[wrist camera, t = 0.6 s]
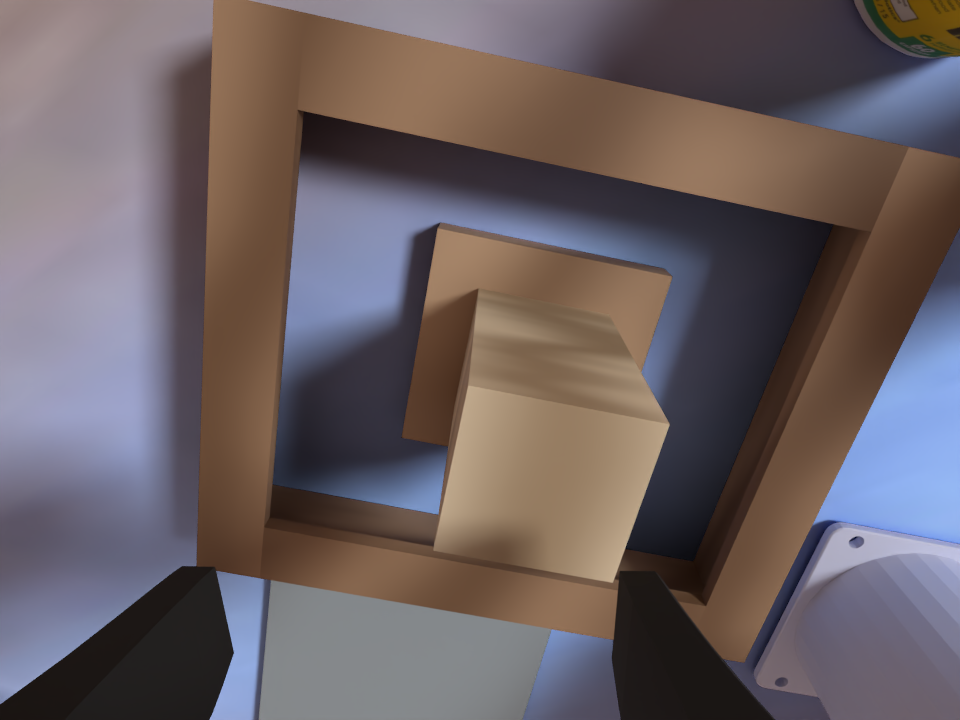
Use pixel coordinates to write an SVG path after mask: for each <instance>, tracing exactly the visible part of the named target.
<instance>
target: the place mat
mask: <svg viewBox="0 0 960 720" xmlns="http://www.w3.org/2000/svg"><path fill="white" fill-rule="evenodd" d="M551 630H552V629H548V628H542V627H536V626H531V625H525V624H519V623H514V622H508V621H502V620H496V619H491V618H485V617H479V616H473V615H468V614H462V613H456V612H450V611H445V610H439V609H433V608H428V607H422V606H416V605H410V604H405V603H399V602H393V601H387V600H382V599H376V598H370V597H364V596H359V595H353V594H347V593H342V592H336V591H330V590H324V589H319V588H313V587H307V586H301V585H296V584H290V583H284V582H278V581H273V580H271V587H270V598H269V609H268V620H267V631H266V643H265V654H264V665H263V676H262V687H261V699H260V710H259V720H522V719H523V716H524V713H525V710H526V707H527V704H528V701H529V698H530V695H531V692H532V688H533V685H534V682H535V679H536V676H537V673H538V670H539V667H540V664H541V661H542V658H543V654H544V651H545V648H546V645H547V642H548V639H549V636H550V633H551Z"/></svg>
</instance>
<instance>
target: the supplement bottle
mask: <svg viewBox="0 0 960 720" xmlns="http://www.w3.org/2000/svg"><path fill="white" fill-rule="evenodd" d="M854 2H855V5H856V7H857V9H858V11H859V13H860V15H861V17H862V19H863V21H864V22H865V24H866V25H867V26H868V28H869V29H870V30H871V31H872V32H873V33H874V34H875V35H876V36H877V37H878V38H879V39H880V40H881V41H882V42H884V43H885V44H887V45H889V46H890V47H892V48H894V49H895V50H897V51H899V52H902V53H904V54H906V55H909V56H913V57H919V58H945V57H959V56H960V0H854Z"/></svg>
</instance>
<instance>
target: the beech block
mask: <svg viewBox="0 0 960 720" xmlns="http://www.w3.org/2000/svg"><path fill="white" fill-rule="evenodd" d="M669 425H670V424H669V422H668V420H667V418H666V417H665V415H664V413H663V411H662V409H661V408H660V406H659V404H658V402H657V400H656V399H655V397H654V395H653V393H652V391H651V390H650V388H649V386H648V384H647V382H646V381H645V379H644V377H643V375H642V373H641V372H640V370H639V368H638V366H637V364H636V363H635V361H634V359H633V357H632V355H631V353H630V352H629V350H628V348H627V346H626V344H625V343H624V341H623V339H622V337H621V335H620V334H619V332H618V330H617V328H616V326H615V325H614V323H613V321H612V319H611V317H610V316H609V314H604V313H599V312H594V311H589V310H584V309H579V308H574V307H569V306H564V305H559V304H554V303H549V302H544V301H539V300H534V299H529V298H524V297H519V296H514V295H510V294H505V293H500V292H495V291H490V290H485V289H480V288H479V289H478V294H477V299H476V303H475V308H474V313H473V318H472V323H471V328H470V333H469V337H468V342H467V347H466V352H465V357H464V362H463V367H462V371H461V376H460V381H459V386H458V391H457V396H456V401H455V405H454V412H453V419H452V426H451V432H450V439H449V446H448V453H447V460H446V467H445V473H444V480H443V487H442V494H441V501H440V508H439V514H438V521H437V528H436V535H435V542H434V548H433V551H438V552H443V553H449V554H455V555H460V556H466V557H471V558H477V559H483V560H488V561H494V562H499V563H505V564H510V565H516V566H522V567H527V568H533V569H538V570H544V571H549V572H555V573H561V574H566V575H572V576H577V577H583V578H589V579H594V580H600V581H605V582H611V583H613V581H614V578H615V575H616V573H617V570H618V567H619V564H620V562H621V559H622V556H623V553H624V550H625V548H626V545H627V542H628V539H629V537H630V534H631V531H632V528H633V525H634V523H635V520H636V517H637V514H638V512H639V509H640V506H641V503H642V500H643V498H644V495H645V492H646V489H647V487H648V484H649V481H650V478H651V475H652V473H653V470H654V467H655V464H656V462H657V459H658V456H659V453H660V450H661V448H662V445H663V442H664V439H665V437H666V434H667V431H668V428H669Z"/></svg>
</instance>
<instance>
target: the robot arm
mask: <svg viewBox="0 0 960 720" xmlns="http://www.w3.org/2000/svg"><path fill="white" fill-rule="evenodd" d="M856 536H858V537H857V538H856V539H855V540H852V541H850V540H851V539H852V538H853V537H856ZM233 654H234V651H233V647H232V642H231V637H230V633H229V628H228V624H227V619H226V615H225V610H224V605H223V601H222V596H221V592H220V587H219V583H218V578H217V573H216V569H215V567H199V566H182V567H180V568H179V569H177V570H176V571H175V572H173V573H172V574H171V575H169V576H168V577H167V578H165V579H164V580H163V581H161V582H160V583H159V584H158V585H156V586H155V587H154V588H153V589H151V590H150V591H149V592H147V593H146V594H145V595H144V596H142V597H141V598H140V599H139V600H137V601H136V602H135V603H134V604H132V605H131V606H130V607H129V608H127V609H126V610H125V611H124V612H122V613H121V614H120V615H119V616H117V617H116V618H115V619H113V620H112V621H111V622H110V623H108V624H107V625H106V626H104V627H103V628H102V629H101V630H99V631H98V632H97V633H96V634H94V635H93V636H92V637H90V638H89V639H88V640H87V641H85V642H84V643H83V644H81V645H80V646H79V647H78V648H76V649H75V650H74V651H72V652H71V653H70V654H69V655H67V656H66V657H65V658H63V659H62V660H61V661H59V662H58V663H56V664H55V665H54V666H52V667H51V668H50V669H48V670H47V671H45V672H44V673H43V674H41V675H40V676H39V677H37V678H36V679H34V680H33V681H32V682H30V683H29V684H28V685H26V686H25V687H24V688H22V689H21V690H19V691H18V692H17V693H15V694H14V695H13V696H11V697H10V698H8V699H7V700H6V701H4V702H3V703H2V704H0V720H209V719H210V717H211V715H212V713H213V710H214V708H215V705H216V702H217V700H218V697H219V694H220V691H221V689H222V686H223V683H224V680H225V677H226V674H227V671H228V669H229V666H230V663H231V660H232V657H233ZM612 663H613V670H614V677H615V684H616V691H617V698H618V704H619V710H620V717H621V720H775V719H774V718H773V717H772V716H771V714H770V713H769V712H768V711H767V710H766V709H765V708H764V707H763V706H762V705H761V703H760V702H759V701H758V700H757V699H756V698H755V697H754V696H753V694H752V693H751V692H750V691H749V690H748V689H747V687H746V686H745V685H744V684H743V683H742V682H741V681H740V679H739V678H738V677H737V676H736V675H735V673H734V672H733V671H732V670H731V668H730V667H729V666H728V665H727V664H726V662H725V661H724V660H723V659H722V658H721V656H720V655H719V654H718V653H717V651H716V650H715V649H714V648H713V647H712V645H711V644H710V643H709V642H708V640H707V639H706V638H705V636H704V635H703V634H702V633H701V631H700V630H699V629H698V627H697V626H696V625H695V623H694V622H693V621H692V619H691V618H690V617H689V616H688V614H687V613H686V612H685V610H684V609H683V607H682V606H681V605H680V603H679V602H678V601H677V599H676V598H675V597H674V595H673V594H672V592H671V591H670V590H669V588H668V587H667V585H666V584H665V582H664V581H663V580H662V578H661V577H660V576H659V575H658V574H657V573H656V572H655V571H620V573H619V584H618V595H617V607H616V618H615V629H614V640H613V651H612ZM753 675H754V678H755V680H756V682H757V684H758V685H759V686H760V687H763V688H768V689H773V690H779V691H785V692H791V693H797V694H802V695H808V696H814V697H819V699H820V701H821V703H822V704H823V706H824V708H825V710H826V712H827V713H828V715H829V717H830V719H831V720H960V544H956V543H951V542H945V541H940V540H935V539H929V538H924V537H919V536H913V535H908V534H903V533H897V532H892V531H887V530H881V529H876V528H871V527H866V526H860V525H855V524H850V523H844V522H838V523H834V524H832V525H830V526H829V527H828V528H827V529H826V530H825V532H824V534H823V536H822V538H821V540H820V542H819V544H818V546H817V548H816V550H815V552H814V554H813V555H812V557H811V559H810V561H809V563H808V565H807V567H806V569H805V571H804V573H803V575H802V577H801V579H800V581H799V583H798V585H797V587H796V589H795V591H794V593H793V595H792V597H791V599H790V601H789V603H788V605H787V607H786V609H785V611H784V613H783V615H782V617H781V619H780V621H779V623H778V625H777V627H776V628H775V630H774V632H773V634H772V636H771V638H770V640H769V642H768V644H767V646H766V648H765V650H764V652H763V654H762V656H761V658H760V660H759V662H758V664H757V666H756V668H755V670H754V673H753Z"/></svg>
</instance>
